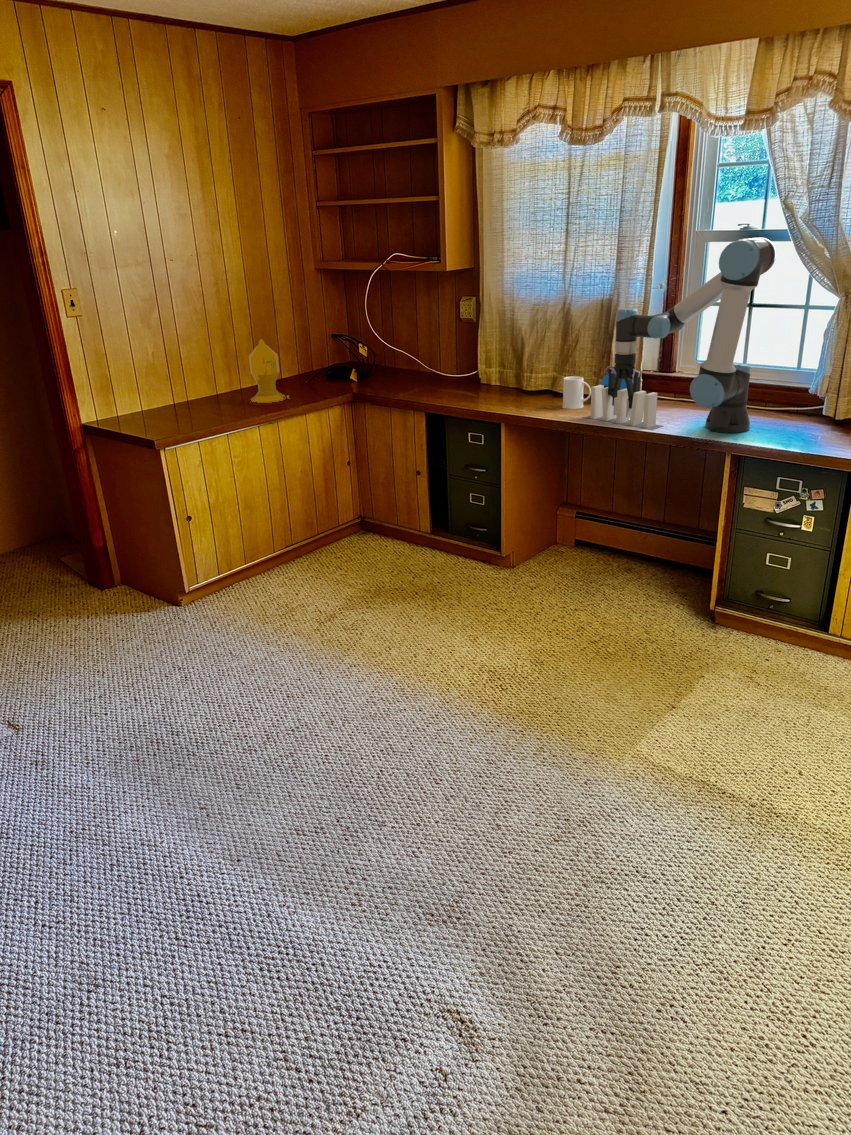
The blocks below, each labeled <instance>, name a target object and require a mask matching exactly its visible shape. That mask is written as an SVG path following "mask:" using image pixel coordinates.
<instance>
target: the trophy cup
mask: <svg viewBox="0 0 851 1135" xmlns="http://www.w3.org/2000/svg"><path fill="white" fill-rule="evenodd" d="M248 359H249V360H248V361H249V368H250V374H251V376H252V377H253V379H254V380H255V382H256V383H257V387H258V391H257V392H256V394H255V395H254V396H253V397H251V398H250V399H249V400H251V401H252V402H257V403H272V402H279V401H283V400H285V399H286V398H287V399H289V400H290V395H289V394H288V395H285V394H282V393H281V392H280V391H278V389H277V386H276V381H277V379H278V376H279V374H280V365H279V356H278V353H277V352H275V351H274V350H273V349H272V348H271V347H270V346H269V345H267V344H266V342H265V340H263V339H262V338H261V339H259V341H258V345H257V346H255V347H254V349H253V351H252V352H251V353H250V354H249V356H248ZM251 401H250V402H251Z"/></svg>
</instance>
